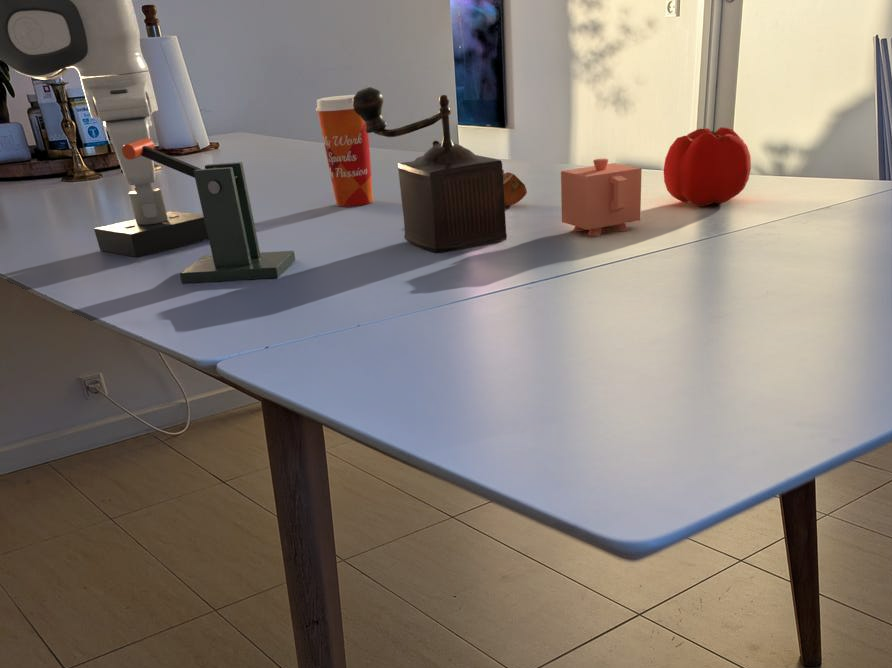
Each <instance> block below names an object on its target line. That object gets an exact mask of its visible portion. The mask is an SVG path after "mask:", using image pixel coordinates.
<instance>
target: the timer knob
mask: <svg viewBox="0 0 892 668" xmlns="http://www.w3.org/2000/svg"><path fill="white" fill-rule="evenodd" d="M152 191H153V197H154V202H155V206H156V210H157V216H155V217H149V218H147V217H145V216H144V214H143V210H142V206H141V203H140V200H139V197H138V195H137V192H136V188H135V187H134V190H131V191H129V192H128V197H129V201H130V203H131V208H132V212H133V216H134V220H136V223H137V224H139V225H149V224H157V223H161V222H165V221H167V220H168V217H167V213H166V212H167V210H166V206H165V201H164V198H163V193H162V190H161V188H157V187H152Z"/></svg>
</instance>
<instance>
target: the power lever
mask: <svg viewBox="0 0 892 668" xmlns="http://www.w3.org/2000/svg"><path fill="white" fill-rule="evenodd" d="M122 153H123V155H124V157H125V158H127V159H129V160H132V159H135V158H137V157H140V156H143V157H146V158H148V159H150V160H153V161H154V163H158V164H161V165H162V166H165V167H167V168H170V169H172V170H174V171H177V172H179V173H182V174H184V175H187V176H189V177H191V178H193V179H195V176H194V172H193V171H195V170H199V169H201V168H200V167H199V166H195V165H193V164H190V163H188V162H186V161H183V160H181V159H179V158H177V157H174V156H172V155H169V154H167V153H164V152H162V151H159V150H157V149H155V143H154V142H153V140H152V139H151V138H150V139H149V138H144V139H141V140H138V141H135V142H132V143H129V144H126V145H124V146H123V148H122ZM214 168H217V167H214ZM212 169H213V168H212ZM234 177H235V182H236V183H237V178H238V176H236V175H234Z"/></svg>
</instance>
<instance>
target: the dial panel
mask: <svg viewBox="0 0 892 668" xmlns="http://www.w3.org/2000/svg"><path fill="white" fill-rule="evenodd" d="M166 213H167V217H168V220H167V221H165V222H161V223H157V224H149V225H139V224H137V223H136V220H135V219H131V220H126V221H121V222H116V223H112V224H108V225H105V226H104V225H103V226H98V227H95V228H93V231H94V234H95V238H96V241H97V245H98V248H99V251H100V252H105V253H110V254H111V253H112V254H117V255H122V256H128V257H134V258H140V257H143V256H148V255H152V254H155V253H160V252H164V251H167V250H172V249H177V248H180V247H184V246H188V245H192V244H196V243H200V242H204V241H209V238H208V234H207V230H206V225H205V221H204V216H203V214H199V213H190V212H181V211H175V210H174V211H166Z"/></svg>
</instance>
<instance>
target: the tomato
mask: <svg viewBox="0 0 892 668" xmlns="http://www.w3.org/2000/svg"><path fill="white" fill-rule="evenodd" d="M751 159H752V158H751V153H750V151H749V147H748V145H747V144H746V143H745V141H744V139H743V138H742V137H740V135H739V134H737V132H736V131H735V130H734V129H732V128H729V127H719V128H718V129H717V130H715V129H714V130H711V129H710V128H708V127H707V128H705V127H703V128H698V129H695V130H693V131H691V132H689V133H687V135H683V136H679V137H677V138H676V139H675V140H674V141H673V142H672V144H671V145H670V146H669V148H668V151H667V154H666V156H665V158H664V163H663V164H664V165H663V181H664V185H665V188H666V191H667V193H669V194H670V196H671V197H673V198H675V199H677V200H678V201H680V202H682V203H690V204H692V205H694V206H696V207H705V206H708V205H711V204H713V203H714V204H723V203H726V202H728V201H730V200H732V199H733V198H735V197H736V196H738V195H739V194H741V192H742V191H743V190H744V189H745V187H746V185H747V184H748V181H749V179H750V173H751V169H752V163H751Z"/></svg>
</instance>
